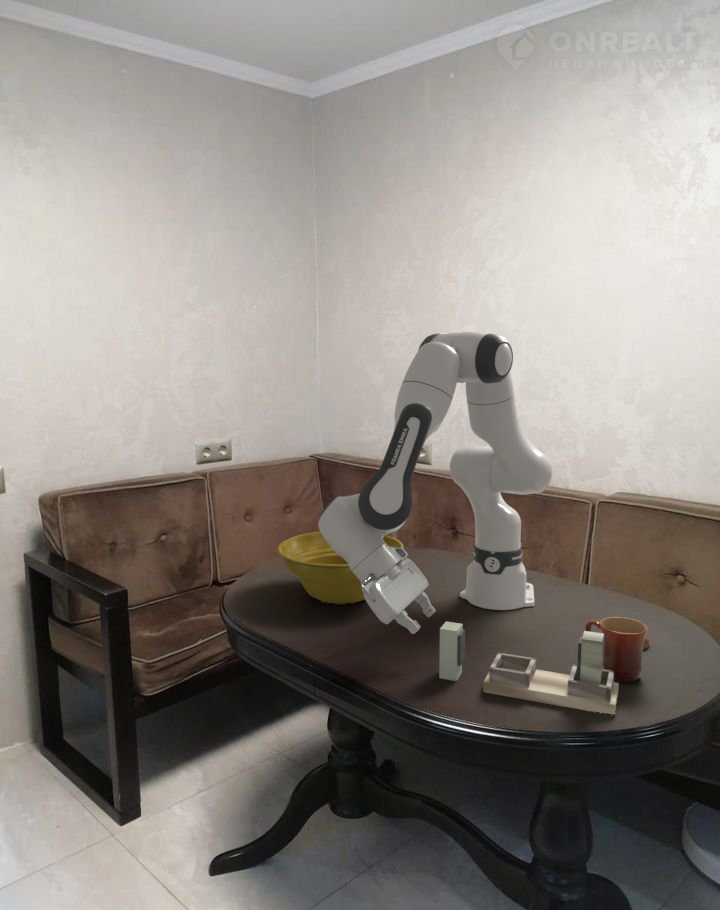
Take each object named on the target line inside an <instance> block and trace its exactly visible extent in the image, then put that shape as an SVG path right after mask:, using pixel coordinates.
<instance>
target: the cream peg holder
mask: <svg viewBox="0 0 720 910" xmlns="http://www.w3.org/2000/svg"><path fill="white" fill-rule="evenodd" d="M603 644H604V634H603V633H602V632H595V631H591V632H589V631H585V630H583V634H582V636H579V640H578V644H577V649H578V650H577V664H572V667H571V669H570V673H569V674H566V673H560V672H553V671H548V670H547V671H546V670H543V669H537V658H535V657H531V656H530V657H527V656H522V655H518V654H517V655H516V654H510V653H509V654H508V653H503V652H498V653H497V655H495V656H496V657H495V658H494V659H493V662H492V663H491V665H490V667H489V669H488V670H489V671H488V673H487V675H486V677H485V678H484V680H483V687H482V688H483V691H482V692H483V693H486V694H492V695H498V696H503V697H509V698H513V699H514V698H515V699H518V700H519V699H520V700H525V701H530V702H536V703H541V704H548V705H553V706H559V707H564V708H570V709H575V710H581V711H587V712H591V711H592V713H596V712H600V713H599V714H602V713H609V714H615V715H616V712H615V711H616V710H617V705H616V704H618V699H617V698H618V697H619V689H620V688H619V686H620V685H619V683H620V682H617V681H615V680H614V671H612V670H606V669H602V666H603ZM593 711H594V712H593Z"/></svg>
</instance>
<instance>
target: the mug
mask: <svg viewBox="0 0 720 910" xmlns="http://www.w3.org/2000/svg"><path fill="white" fill-rule="evenodd" d="M592 626H595V627H597V628H598V629H599V630H600V633H603V634H604V644H603V666H602V669H606V670H612V671H614V682H619V681H620V682H619V683H631V682H632V681H633V682H635V681H636V680H639V679H640V677H641V674H642V670H643V661H644V659H643V654H644V653H643V650H644V649H643V642H644V639H645V636H646V637H647V633H648V630H649V628H648V626H647V624H645V623H644V622H642V621H639V620H638V619H634V618H629V617H624V616H623V617H622V616H612V617H611V616H610V617H605V618H603V619H601V620H597V619H592V620H589V621H588V622H587V623H586V624H585V627H584V631H589V632H592ZM633 682H632V683H633Z"/></svg>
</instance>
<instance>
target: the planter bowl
mask: <svg viewBox="0 0 720 910" xmlns="http://www.w3.org/2000/svg"><path fill="white" fill-rule="evenodd" d="M383 540H384V542H385V543H386V544H387V545H388V546H389V547H394V548H403V549H404V548H405V547H404V544H403V543H402V541H400V540H398V539H397V538H395V537H392V536H390V535H386V536H384V537H383ZM404 550H405V549H404ZM276 551H277V553H278V555H280V557H282V559H283V562H284V564H285V566H286V567H287V569H288V570H289V571H290V572H292V573H293V574H294V575H296V576H297V578H298V579H299V581H300V583H301V585H302V586H303V588H304V590H305V591H306V593H308V595H309V596H310V597H312V598H313V599H315V598H316V599H319V600H322V601H325V602H330V603H342V604H341V605H347V604H346V603H351V604H355V602H356V603H358V602H361V601H364V600H365V598H364V593H363V591H362V587H361V582H360V580H359V579H358V578H357V577H356V576H355V574H354V573H353V572H352V571H351V570H350V567H349V565H348V563H347V562H346V561H345V560H344V559H343V558H341V557H340V556H339V555H338V554H337V553H336V552H335V551H334V550H333V549H332V547H331V546H330V545H329V544H328V542H327V541H326V539H325V538H324V537H323V535H322V533H321V532H320V531H314V532H313V531H312V532H307V533H303V534H299V535H295V536H292V537H290V538H287V539H285V540H284V541H282V542H280V543H279V544H278V545H277V547H276ZM316 599H315V600H316ZM344 603H345V604H344Z"/></svg>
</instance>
